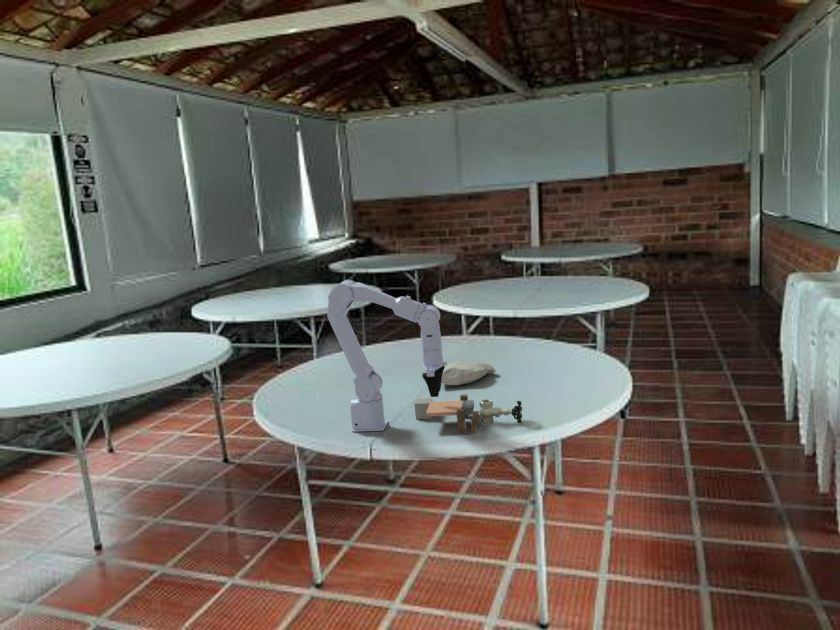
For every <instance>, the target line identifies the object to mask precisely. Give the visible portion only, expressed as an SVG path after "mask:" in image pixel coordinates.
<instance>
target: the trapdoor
mask: <svg viewBox="0 0 840 630" xmlns="http://www.w3.org/2000/svg"><path fill="white" fill-rule="evenodd" d="M457 409H464V413H465V415H469V416H470V415H471V416H472V415H473V411H475V401H474V400H473V399H470V400H466V401H465V400H463V401H460V400H444V401H441V400H440V401H439V400H438V401H432V402H430V404H429V406H428V409H427V412H426V416H432V417H442V416H443V417H444V416H445V417H447V416H450V417H451V416H457Z"/></svg>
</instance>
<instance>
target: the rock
mask: <svg viewBox="0 0 840 630" xmlns="http://www.w3.org/2000/svg"><path fill="white" fill-rule="evenodd" d="M496 372H497V370H496V369H495V368H494V367H493V366H492V365H491V364H490V363H487V362H480V361H479V362H477V361H468V360H463V359H461V360H457V361H456V360H455V361H451V362H447V365H446V366H445V368H444V371H443V374H442V380H441V384H444V385H448V386H460V385H465V384H466V385H467V384H468V385H469V384H472V383H473V382H476V381H478V380H480V379H481V378H482V377H484V376H486V375H487V374H492V373H493V374H494V373H496Z"/></svg>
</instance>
